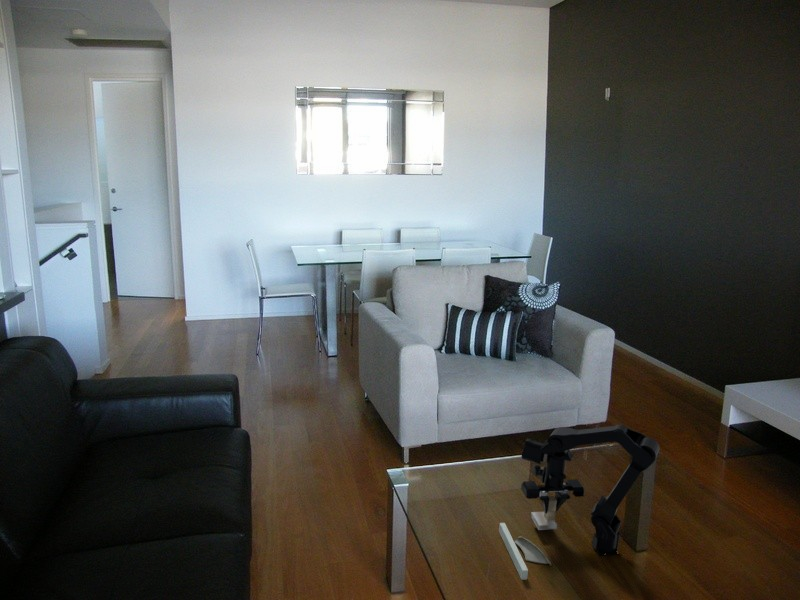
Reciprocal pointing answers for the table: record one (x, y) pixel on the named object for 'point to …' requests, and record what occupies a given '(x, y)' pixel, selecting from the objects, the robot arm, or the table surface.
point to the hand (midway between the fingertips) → (549, 512)
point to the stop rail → (513, 551)
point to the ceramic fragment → (531, 551)
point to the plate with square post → (546, 516)
